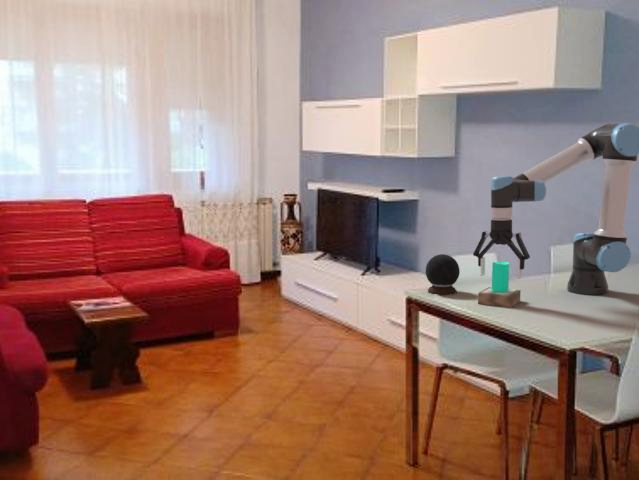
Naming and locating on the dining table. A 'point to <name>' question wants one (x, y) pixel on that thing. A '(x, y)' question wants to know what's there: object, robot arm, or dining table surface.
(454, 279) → the smart speaker
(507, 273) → the candle
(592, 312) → the dining table surface
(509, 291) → the plinth
